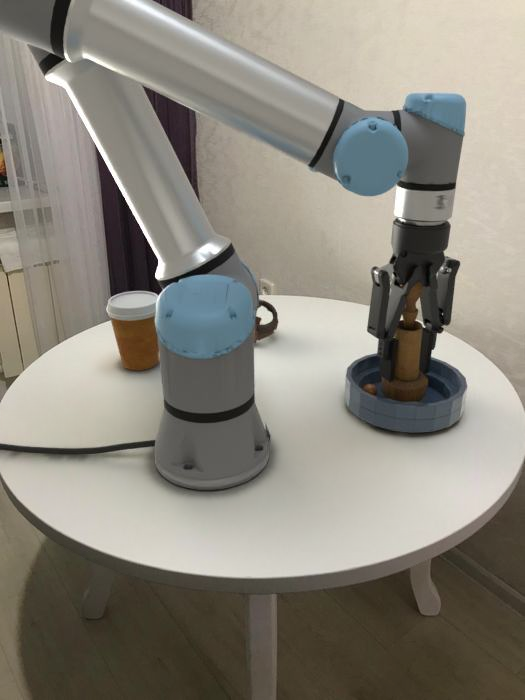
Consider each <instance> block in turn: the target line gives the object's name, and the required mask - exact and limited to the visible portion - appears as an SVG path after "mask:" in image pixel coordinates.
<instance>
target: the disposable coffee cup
mask: <svg viewBox="0 0 525 700" xmlns="http://www.w3.org/2000/svg"><path fill="white" fill-rule="evenodd" d="M158 297H159V294H157V293H155V292H152V291H147V290H132V291H130V290H129V291H124V292H121V293H117V294H115V295H113V296H110V297H109V298H108V300H107V305H106V307H105V311H106V313H107V314H108V316H109V318H110V322H111V326H112V330H113V335H114V337H115V341H116V345H117V348H118V352H119V353H118V354H119V356H120V360H121V364H122V367H123V368H125V369H127V370H130V371H144V370H149V369H151V368H154V367H156V366H157V365H158V363H159V362H160V357H159V347H158V336H157V333H156V327H155V314H156V302H157V299H158Z"/></svg>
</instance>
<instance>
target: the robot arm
mask: <svg viewBox="0 0 525 700" xmlns="http://www.w3.org/2000/svg"><path fill="white" fill-rule="evenodd" d="M0 33H1V35H2V34H3V35H4V36H5V37H8V38H9V39H10V40H11V39H12V40H13V41H17V42H19V43H23V44H26V46H27V47H28V49H29V51H30V53H31V55H32V56H33V59H34V60H35V62H36V64H37V66H38V67H39V69H40V71H41V73H42V75H43V76H44V78H45V80H46V81H48V82H51V83H53V84H56V85H58V86H61V87H63V88H64V89H65V90H66V93H67V94H68V96H69V97H70V99H71V101H72V103H73V105H74V107H75V108H76V111H77V112H78V115H79V116H80V118H81V120H82V122H83V123H84V125H85V127H86V129H87V130H88V132H89V134H90V136H91V138H92V140H93V142H94V143H95V145H96V147H97V149H98V151H99V153H100V155H101V156H102V158H103V160H104V162H105V164H106V166H107V168H108V170H109V172H110V173H111V175H112V177H113V178H114V181H115V183H116V184H117V186H118V188H119V190H120V192H121V194H122V196H123V197H124V198H125V201H126V203H127V205H128V206H129V209H130V210H131V212H132V215H133V216H134V217H135V220H136V221H137V223H138V224H139V225H138V226H140V229H141V230H142V233H143V234H144V236H145V238H146V239H147V242H148V244H149V245H150V247H151V249H152V251H153V253H154V254H155V256H156V258H157V260H158V264H157V267H156V271H155V276H154V277H155V279H156V281H157V282H158V284H159V286H160V288H161V290H162V291H161V292H160V293H159V294H158V296H159V297H158V299H157V302H156V314H155V327H156V333H157V336H158V347H159V367H160V378H161V388H162V396H163V411H162V415H161V419H160V423H159V426H158V430H157V433H156V437H155V439H151V440H142V441H132V442H124V443H117V444H111V445H103V446H96V447H76V448H75V447H47V446H30V445H29V446H28V445H16V444H9V443H1V442H0V451H6V452H13V453H14V452H16V453H26V454H43V455H60V456H61V455H62V456H63V455H64V456H65V455H66V456H67V455H68V456H69V455H70V456H73V455H74V456H77V455H79V456H80V455H81V456H83V455H98V454H107V453H112V452H119V451H126V450H134V449H144V448H153V454H154V464H155V467H156V469H157V471H158V473H159V474H160V475H161V476H162V477H163V478H165V479H166V480H167V481H169V482H170V483H173V484H174V485H176V486H180V487H182V488H186V489H190V490H199V491H215V490H223V489H229V488H232V487H236V486H239V485H241V484H244V483H247V482H249V481H250V480H252V479H253V478H255V477H256V476H258V475H259V474H260V473H261V472H262V471H263V470H264V469H265V468H266V466H267V463H268V462H269V458H270V444H272V443H271V440H272V439H271V437H272V436H271V435H272V434H271V433H270V431H269V428H268V426H267V423H266V422H265V423H263V422H264V421H263V420H262V417H261V414H260V413H259V410H258V407H257V404H256V396H255V395H256V394H255V392H256V391H255V343H254V338H255V329H256V327H257V326H256V316H257V313H258V309H259V308H258V305H259V299H260V294H259V287H258V286H259V285H258V284H257V281H256V278H255V276H254V274H253V272H252V271H251V270H250V268H249V266H248V265H246V263H244V262H243V261H242V260H241V259H240V257H239V254H238V253H237V251H236V249H235V247H234V245H233V243H232V240H231V239H230V238H229V237H228V236H227V237H226V236H225V235H224V236H223V235H221V234H218V233H217V232H215V231H214V228H213V227H212V225H211V223H210V221H209V219H208V217H207V215H206V213H205V210H204V208H203V207H202V204H201V202H200V200H199V198H198V197H197V195H196V192H195V190H194V188H193V186H192V184H191V182H190V180H189V178H188V176H187V174H186V173H185V170H184V168H183V166H182V164H181V162H180V159H179V158H178V155H177V153H176V151H175V150H174V148H173V145H172V144H171V141H170V140H169V138H168V135H167V134H166V132H165V129H164V127H163V125H162V123H161V121H160V119H159V117H158V116H157V113H156V111H155V108H154V107H153V105H152V103H151V100H149V97H148V95H147V93H146V91H145V88H147V89H149V90H151V91H153V92H156V93H157V94H160V95H161V96H164V97H166V98H168V99H170V100H171V101H174V102H176V103H178V104H179V105H182V106H184V107H186V108H188V109H190V110H192V111H194V112H196V113H198V114H201V115H203V116H205V117H207V118H208V119H211V120H213V121H215V122H217V123H219V124H220V125H221V124H222V125H223V126H225V127H227V128H230V129H231V130H233V131H235V132H238V133H240V134H242V135H244V136H246V137H247V138H249V139H252V140H254V141H256V142H258V143H259V144H262V145H264V146H266V147H268V148H270V149H273V150H274V151H276V152H278V153H280V154H282V155H285V156H287V157H289V158H291V159H293V160H295V161H297V162H299V163H300V164H304V165H305V166H307V168H308V170H309V171H310V172H313V173H320V174H322V175H324V176H326V177H328V178H330V179H333V180H334V181H336V182H338V183H339V184H340V185H341V186H342V187H343V188H344V189H345V190H346V191H349V192H350V193H353V194H354V195H358V196H361V197H377V196H380V195H383V194H386V193H387V192H389V191H391V190H392V189H393V188H394V187H395V186H396V189H395V197H394V207H393V215H394V216H395V217H396V218H395V219H394V220H393V221H392V230H391V238H390V239H391V241H390V244H391V248H392V254H391V256H390V258H389V260H388V263H387V264H385V265H383V266H381V267H378V266H376V265H375V266H373V267H371V269H370V275H371V280H372V288H371V295H370V302H369V303H370V304H369V311H368V319H367V325H366V332H367V333H368V334H370V335H371V336H373V337H374V338H375V339H378V341H377V352H376V353H377V355H378V357H379V358H380V367H379V375H381V376H382V377H383V378H385V379H386V380H387V381H389V382H392V381H394V374H395V365H396V356H397V347H398V340H397V339H395V338H394V336H395V333H396V330H397V327H398V324H399V322H400V320H402V319H401V318H402V317H403V316H402V313H403V310H404V307H405V305H406V302H407V297H406V296H408V295H409V294H410V290H411V288H412V287H413V286H414V285H415V284H416V281H420V282H421V284H422V286H423V292H422V295H421V296H420V298H419V301H420V309H421V317H422V325H423V328H422V338H421V348H420V360H419V370H420V371H421V372H423V373H424V374H426V373H429V368H430V361H431V357H432V354H433V351H434V350H435V349H436V346H437V345H436V344H437V339H438V338H437V337H438V334H439V335H440V334H442V333H443V332H444V330H445V328H444V326H446V327H447V326H449V325H450V324H451V322H452V314H453V305H454V295H455V285H456V278H457V274H458V272H459V269H460V266H461V261H460V260H458V259H456V258H452V257H450V256H447V255H445V251H446V250H447V249H448V247H449V240H450V234H451V228H452V227H451V223H450V221H448V220H450V219H452V217H453V212H454V211H453V210H454V204H455V199H456V197H455V196H456V190H457V179H458V173H459V168H460V160H461V155H462V148H463V144H464V143H463V142H464V137H465V136H466V132H465V130H466V129H465V127H466V116H467V101H466V99H465V97H463V96H462V94H459V93H449V92H412V93H409V94H408V95H406V97H405V99H404V103H403V105H402V109H395V110H394V109H393V110H368V109H367V110H365V109H363V108H361V107H359V106H358V105H355V104H353V103H351V102H349V101H346V100H344V99H342V98H340V97H339V96H338V95H335V94H334V93H332V92H330V91H328V90H326V89H324V88H322V87H320V86H318V85H317V84H315V83H313V82H311V81H309V80H307V79H305V78H303V77H301V76H299V75H297V74H295V73H293V72H292V71H290V70H288V69H286V68H284V67H282V66H280V65H278V64H276V63H274V62H272V61H270V60H269V59H266V58H265V57H262V56H261V55H258V54H256V53H255V52H253V51H251V50H250V49H247V48H245V47H243V46H241V45H240V44H237V43H235V42H234V41H232V40H230V39H228V38H226V37H224V36H223V35H220V34H218V33H216V32H214V31H213V30H211V29H208V28H206V27H205V26H203V25H201V24H199V23H197V22H195V21H193V20H191V19H190V18H187V17H185V16H183V15H181V14H180V13H178V12H176V11H174V10H172V9H170V8H168V7H167V6H164V5H162V4H161V3H159V2H157V1H154V0H0ZM144 87H145V88H144ZM392 275H393V277H392ZM401 285H403V286H405V288H404V289H403V288H401ZM264 424H265V425H264Z"/></svg>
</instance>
